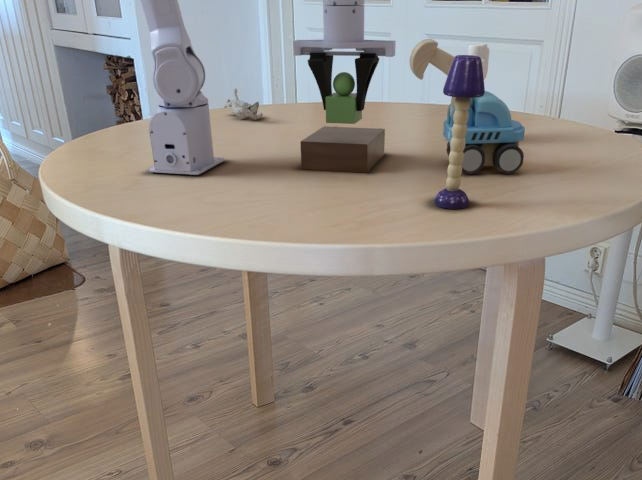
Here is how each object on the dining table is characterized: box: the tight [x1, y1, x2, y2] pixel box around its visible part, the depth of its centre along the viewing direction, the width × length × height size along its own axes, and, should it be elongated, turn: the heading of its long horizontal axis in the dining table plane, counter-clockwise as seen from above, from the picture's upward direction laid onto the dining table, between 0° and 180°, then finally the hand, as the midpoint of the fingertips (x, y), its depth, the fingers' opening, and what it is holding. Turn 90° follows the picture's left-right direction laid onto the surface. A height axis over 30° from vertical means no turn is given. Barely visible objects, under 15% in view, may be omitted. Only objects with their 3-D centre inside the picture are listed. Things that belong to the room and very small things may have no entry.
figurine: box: [467, 43, 490, 80], centre depth 112 cm, size 7×9×15 cm
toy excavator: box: [409, 38, 526, 175], centre depth 93 cm, size 9×17×17 cm, turn 91°
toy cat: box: [223, 87, 264, 121], centre depth 134 cm, size 8×5×12 cm
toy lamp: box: [433, 54, 486, 210], centre depth 77 cm, size 5×5×17 cm
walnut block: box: [300, 125, 386, 174], centre depth 100 cm, size 12×10×4 cm
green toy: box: [325, 71, 363, 125], centre depth 97 cm, size 4×4×7 cm
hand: (344, 109), depth 98 cm, fingers closed on green toy, 4 cm apart
